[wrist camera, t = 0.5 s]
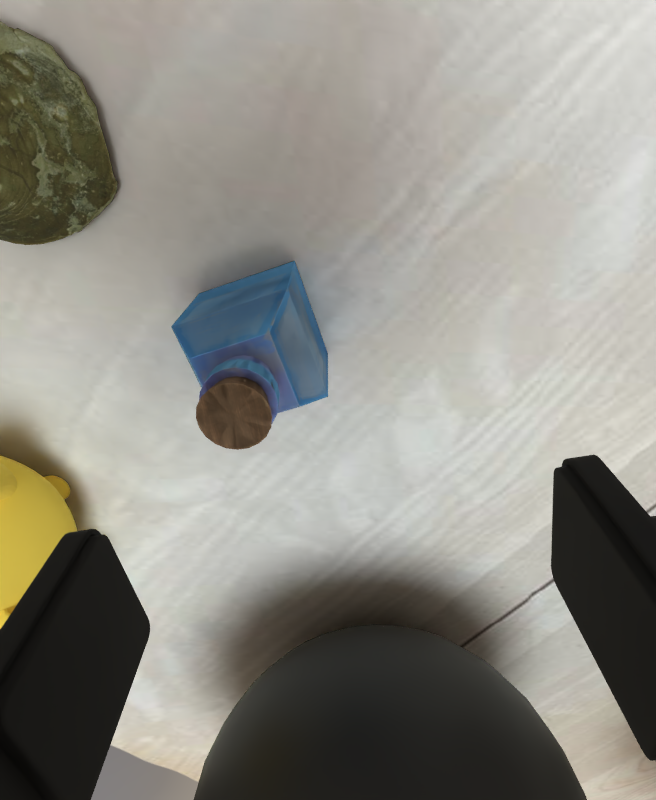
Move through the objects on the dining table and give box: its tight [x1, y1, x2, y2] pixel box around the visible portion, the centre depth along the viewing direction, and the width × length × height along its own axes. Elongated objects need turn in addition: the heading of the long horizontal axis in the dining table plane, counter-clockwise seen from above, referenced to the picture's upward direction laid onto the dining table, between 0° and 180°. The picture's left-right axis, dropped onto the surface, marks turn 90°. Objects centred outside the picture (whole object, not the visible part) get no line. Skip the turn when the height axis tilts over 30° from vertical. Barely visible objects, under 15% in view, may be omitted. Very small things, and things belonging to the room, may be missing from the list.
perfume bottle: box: [172, 261, 328, 450], centre depth 26 cm, size 6×6×12 cm
